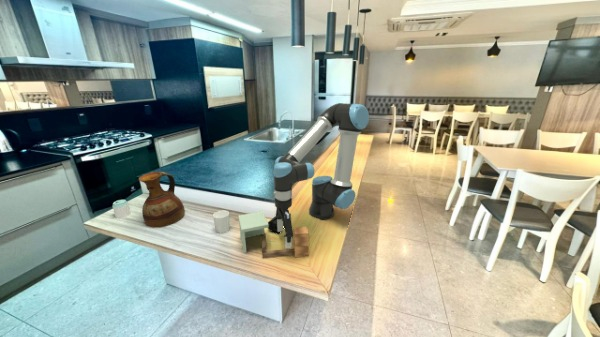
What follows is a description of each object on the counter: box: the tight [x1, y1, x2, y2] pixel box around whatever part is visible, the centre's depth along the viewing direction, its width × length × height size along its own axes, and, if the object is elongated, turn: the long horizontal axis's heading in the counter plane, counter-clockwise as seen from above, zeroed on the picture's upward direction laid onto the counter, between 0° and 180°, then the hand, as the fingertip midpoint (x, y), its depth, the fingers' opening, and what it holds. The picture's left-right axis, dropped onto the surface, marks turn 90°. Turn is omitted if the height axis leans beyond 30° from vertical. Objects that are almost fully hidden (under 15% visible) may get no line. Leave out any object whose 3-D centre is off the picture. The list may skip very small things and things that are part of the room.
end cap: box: [267, 215, 285, 235], centre depth 122 cm, size 10×7×7 cm
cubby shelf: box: [238, 210, 269, 254], centre depth 110 cm, size 12×13×12 cm
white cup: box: [212, 209, 231, 234], centre depth 120 cm, size 8×8×10 cm
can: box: [112, 199, 132, 219], centre depth 130 cm, size 7×7×12 cm
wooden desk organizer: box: [261, 226, 310, 259], centre depth 105 cm, size 20×12×12 cm, turn 98°
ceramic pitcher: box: [138, 171, 186, 228], centre depth 126 cm, size 20×20×30 cm
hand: (284, 238), depth 107 cm, fingers open, 13 cm apart
